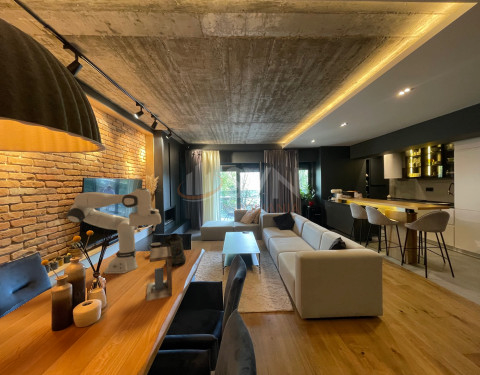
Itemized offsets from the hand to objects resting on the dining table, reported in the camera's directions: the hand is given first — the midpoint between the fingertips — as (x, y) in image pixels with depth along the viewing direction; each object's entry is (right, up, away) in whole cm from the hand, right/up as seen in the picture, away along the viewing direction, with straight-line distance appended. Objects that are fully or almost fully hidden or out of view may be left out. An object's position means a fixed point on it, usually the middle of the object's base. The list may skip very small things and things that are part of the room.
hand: (146, 231), depth 139 cm
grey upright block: (+14, -33, -12) cm, 38 cm away
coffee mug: (-17, -34, +53) cm, 65 cm away
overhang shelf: (+14, -34, -12) cm, 39 cm away
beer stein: (+10, -34, +30) cm, 46 cm away
